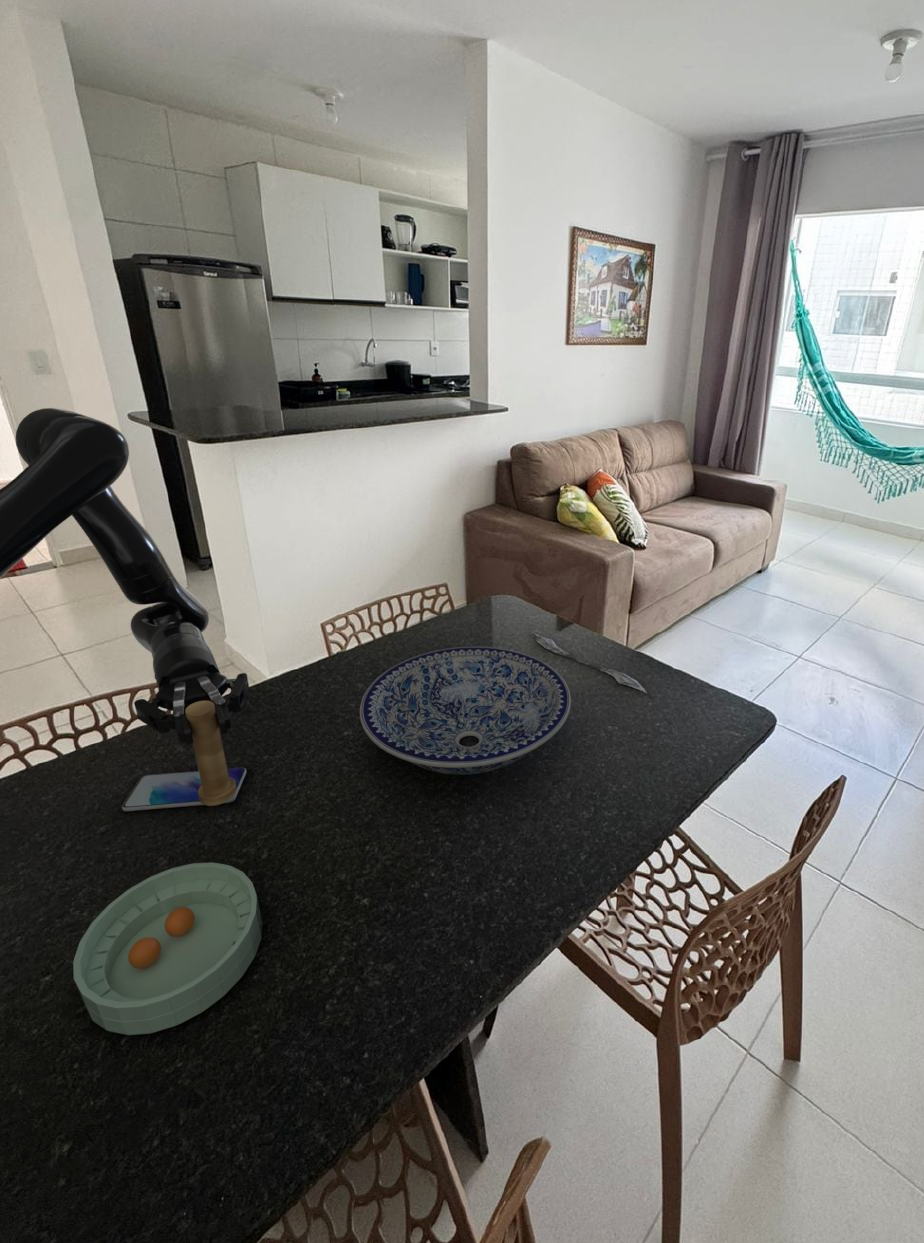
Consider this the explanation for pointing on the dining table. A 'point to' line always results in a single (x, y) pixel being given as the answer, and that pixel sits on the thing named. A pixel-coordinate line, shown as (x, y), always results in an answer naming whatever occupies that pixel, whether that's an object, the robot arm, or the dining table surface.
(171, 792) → the smartphone
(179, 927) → the bead
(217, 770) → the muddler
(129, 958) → the bead
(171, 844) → the dining table surface
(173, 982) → the pale green shallow dish
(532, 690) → the ceramic bowl
